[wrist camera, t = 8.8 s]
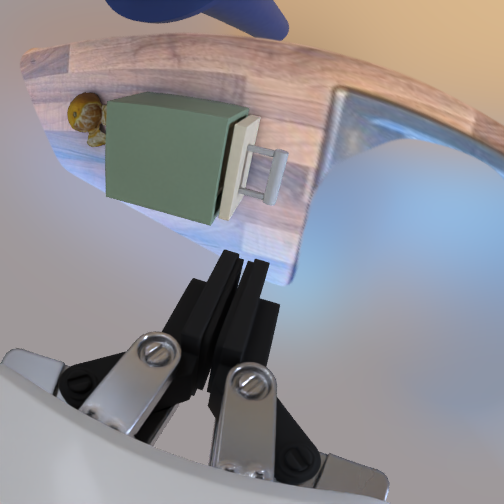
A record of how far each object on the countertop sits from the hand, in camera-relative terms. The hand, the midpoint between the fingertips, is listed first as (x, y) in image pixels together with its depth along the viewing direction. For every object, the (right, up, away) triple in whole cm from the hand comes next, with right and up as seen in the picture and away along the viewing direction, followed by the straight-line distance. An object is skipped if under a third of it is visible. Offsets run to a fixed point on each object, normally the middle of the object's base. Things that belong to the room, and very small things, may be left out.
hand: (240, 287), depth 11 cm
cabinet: (-8, +15, +25) cm, 30 cm away
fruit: (-22, +20, +26) cm, 39 cm away
